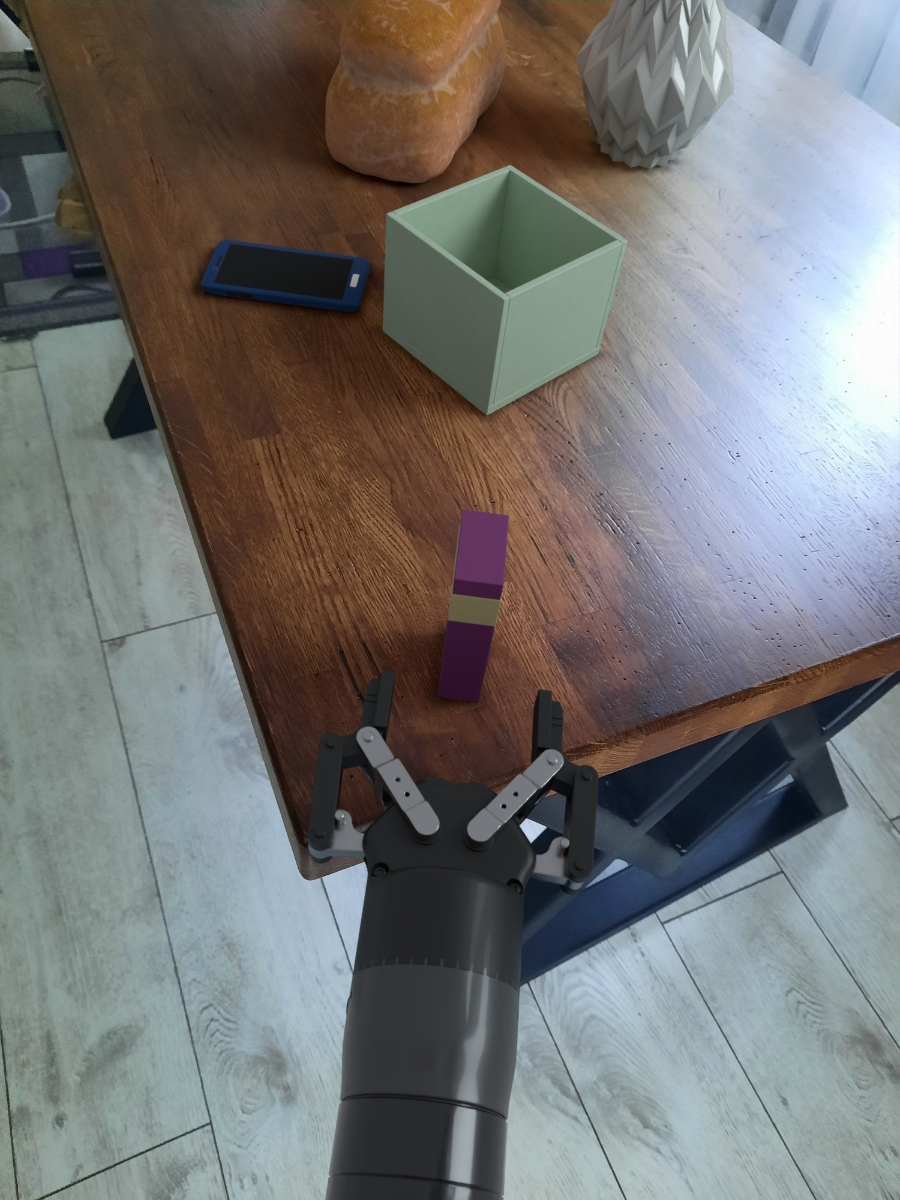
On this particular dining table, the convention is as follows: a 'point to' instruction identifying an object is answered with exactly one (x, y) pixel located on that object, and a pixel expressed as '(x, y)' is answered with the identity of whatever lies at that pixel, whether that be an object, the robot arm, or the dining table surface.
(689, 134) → the vase
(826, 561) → the dining table surface
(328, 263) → the cell phone
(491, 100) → the bread
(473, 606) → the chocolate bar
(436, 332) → the open storage box
